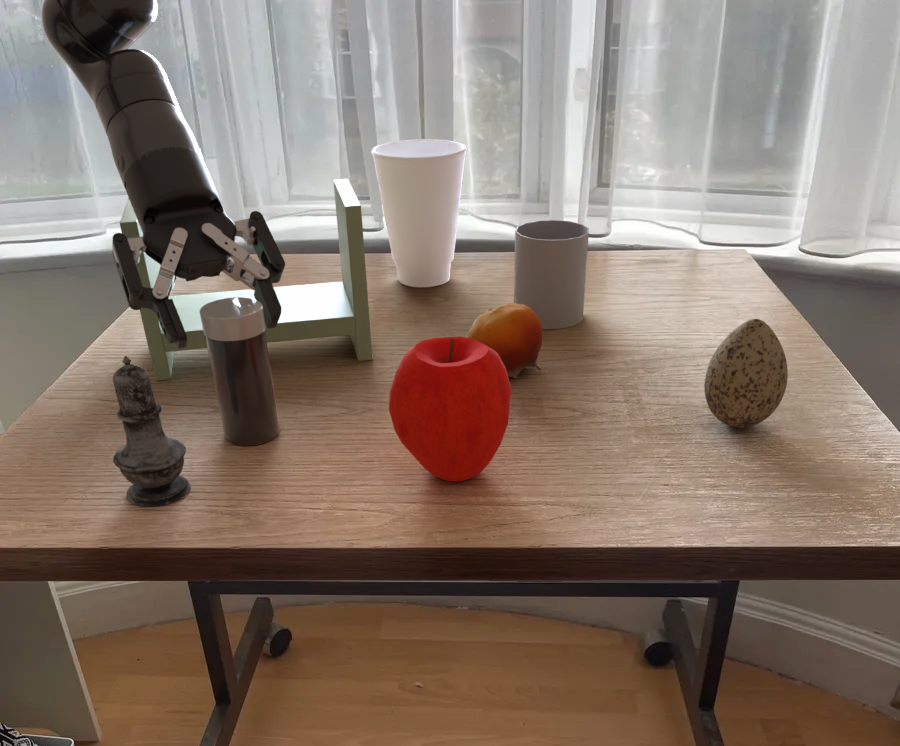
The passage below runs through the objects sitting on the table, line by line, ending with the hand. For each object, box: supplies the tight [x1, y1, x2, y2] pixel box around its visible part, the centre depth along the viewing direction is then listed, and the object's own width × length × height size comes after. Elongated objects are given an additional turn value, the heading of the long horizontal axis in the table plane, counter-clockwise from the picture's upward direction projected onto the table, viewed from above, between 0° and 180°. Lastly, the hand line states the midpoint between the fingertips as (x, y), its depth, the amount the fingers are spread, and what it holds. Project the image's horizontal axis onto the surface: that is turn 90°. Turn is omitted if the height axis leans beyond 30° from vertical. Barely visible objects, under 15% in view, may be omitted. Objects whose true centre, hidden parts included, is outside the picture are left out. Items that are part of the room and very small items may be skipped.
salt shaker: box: [112, 355, 191, 508], centre depth 73 cm, size 6×6×12 cm
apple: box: [388, 335, 512, 482], centre depth 74 cm, size 10×10×12 cm
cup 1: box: [371, 138, 468, 288], centre depth 116 cm, size 12×12×16 cm
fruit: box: [466, 302, 543, 380], centre depth 94 cm, size 8×8×8 cm
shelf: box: [119, 178, 374, 382], centre depth 97 cm, size 23×12×16 cm, turn 101°
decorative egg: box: [703, 318, 789, 429], centre depth 81 cm, size 7×7×10 cm
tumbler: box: [200, 297, 281, 447], centre depth 81 cm, size 5×5×12 cm
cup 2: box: [513, 219, 590, 330], centre depth 105 cm, size 8×8×10 cm
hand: (229, 334), depth 80 cm, fingers open, 8 cm apart
